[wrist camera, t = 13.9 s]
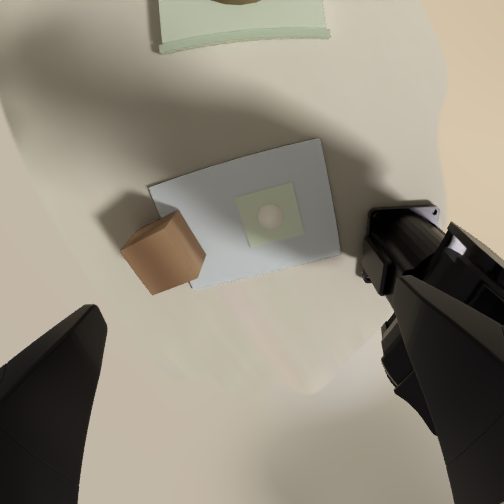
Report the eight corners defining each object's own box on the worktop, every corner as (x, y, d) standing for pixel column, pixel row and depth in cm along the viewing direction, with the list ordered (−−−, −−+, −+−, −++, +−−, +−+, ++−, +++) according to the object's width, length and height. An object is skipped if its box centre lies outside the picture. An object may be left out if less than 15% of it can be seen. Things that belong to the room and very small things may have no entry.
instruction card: (319, 137, 18) (320, 138, 18) (340, 252, 22) (341, 255, 22) (149, 187, 19) (147, 188, 19) (194, 289, 24) (193, 292, 23)
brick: (178, 209, 20) (164, 228, 17) (206, 254, 22) (197, 278, 19) (136, 231, 21) (119, 251, 18) (164, 271, 23) (152, 295, 20)
